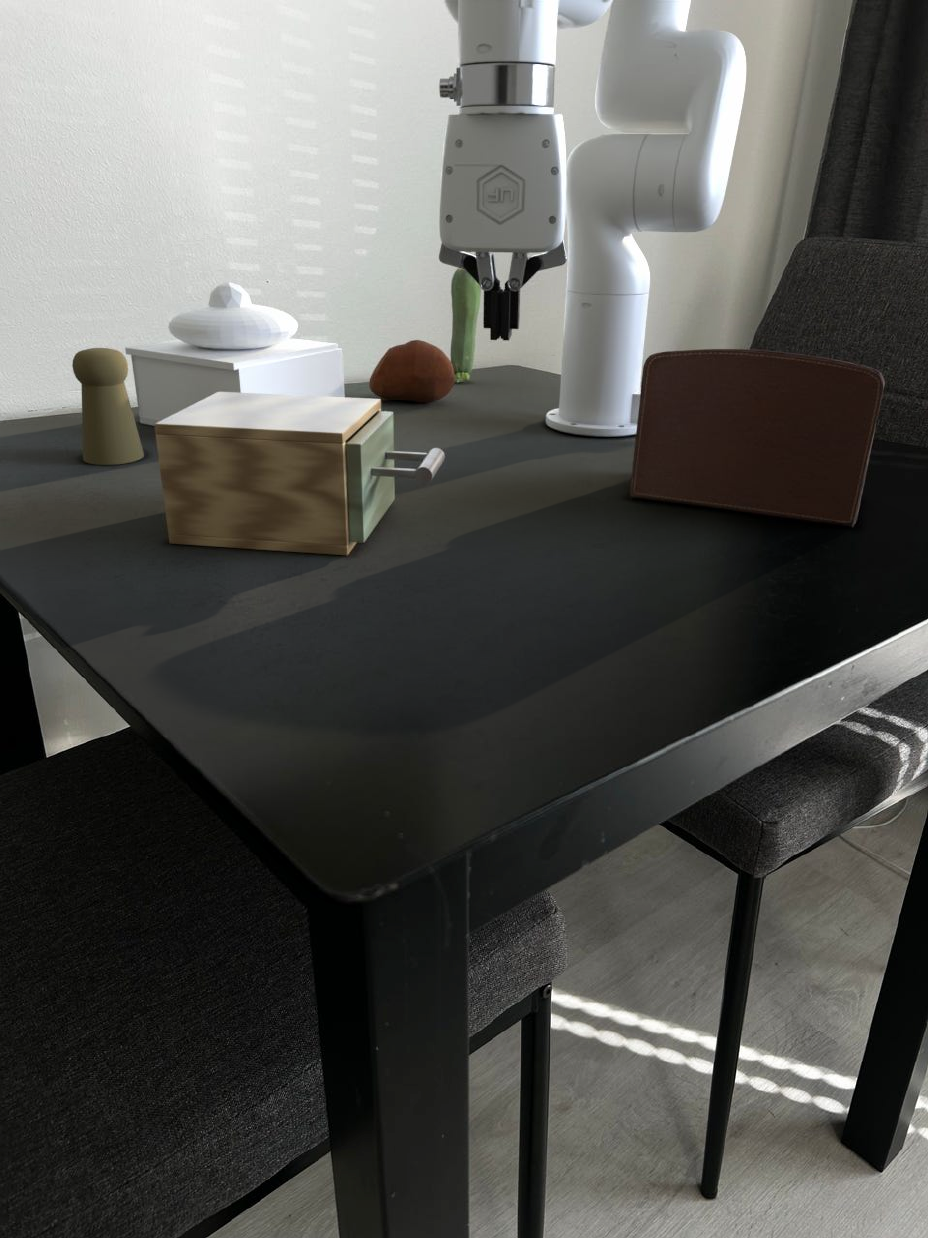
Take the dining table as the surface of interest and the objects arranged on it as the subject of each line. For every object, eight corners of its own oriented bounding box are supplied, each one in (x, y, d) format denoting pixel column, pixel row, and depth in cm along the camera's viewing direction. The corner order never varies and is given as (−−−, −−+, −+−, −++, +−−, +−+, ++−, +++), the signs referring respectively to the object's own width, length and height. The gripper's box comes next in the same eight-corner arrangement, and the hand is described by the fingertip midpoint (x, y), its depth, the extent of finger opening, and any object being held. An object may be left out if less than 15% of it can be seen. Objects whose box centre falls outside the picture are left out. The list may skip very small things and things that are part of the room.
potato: (373, 393, 128) (372, 334, 124) (455, 395, 127) (456, 336, 124) (366, 405, 121) (364, 342, 117) (453, 407, 120) (454, 344, 117)
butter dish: (345, 415, 115) (340, 281, 108) (241, 444, 101) (228, 293, 94) (244, 398, 123) (233, 273, 116) (135, 423, 109) (116, 282, 103)
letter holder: (855, 528, 78) (890, 360, 73) (627, 499, 85) (642, 343, 79) (855, 496, 87) (887, 344, 81) (648, 472, 93) (663, 329, 87)
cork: (125, 466, 92) (108, 354, 88) (71, 462, 93) (52, 351, 89) (154, 451, 98) (141, 345, 93) (103, 448, 99) (87, 343, 94)
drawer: (449, 502, 80) (450, 414, 77) (426, 547, 70) (426, 447, 67) (249, 490, 83) (241, 404, 79) (198, 532, 72) (187, 435, 69)
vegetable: (449, 378, 139) (450, 236, 130) (477, 378, 139) (480, 236, 130) (451, 384, 135) (452, 237, 126) (480, 384, 135) (483, 238, 126)
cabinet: (383, 506, 82) (381, 398, 78) (347, 555, 71) (342, 433, 67) (228, 496, 84) (218, 391, 80) (169, 543, 73) (153, 423, 69)
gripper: (402, 92, 69) (408, 343, 77) (602, 90, 67) (586, 347, 75) (420, 98, 75) (424, 328, 84) (602, 97, 73) (588, 332, 82)
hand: (501, 337), depth 79 cm, fingers closed
